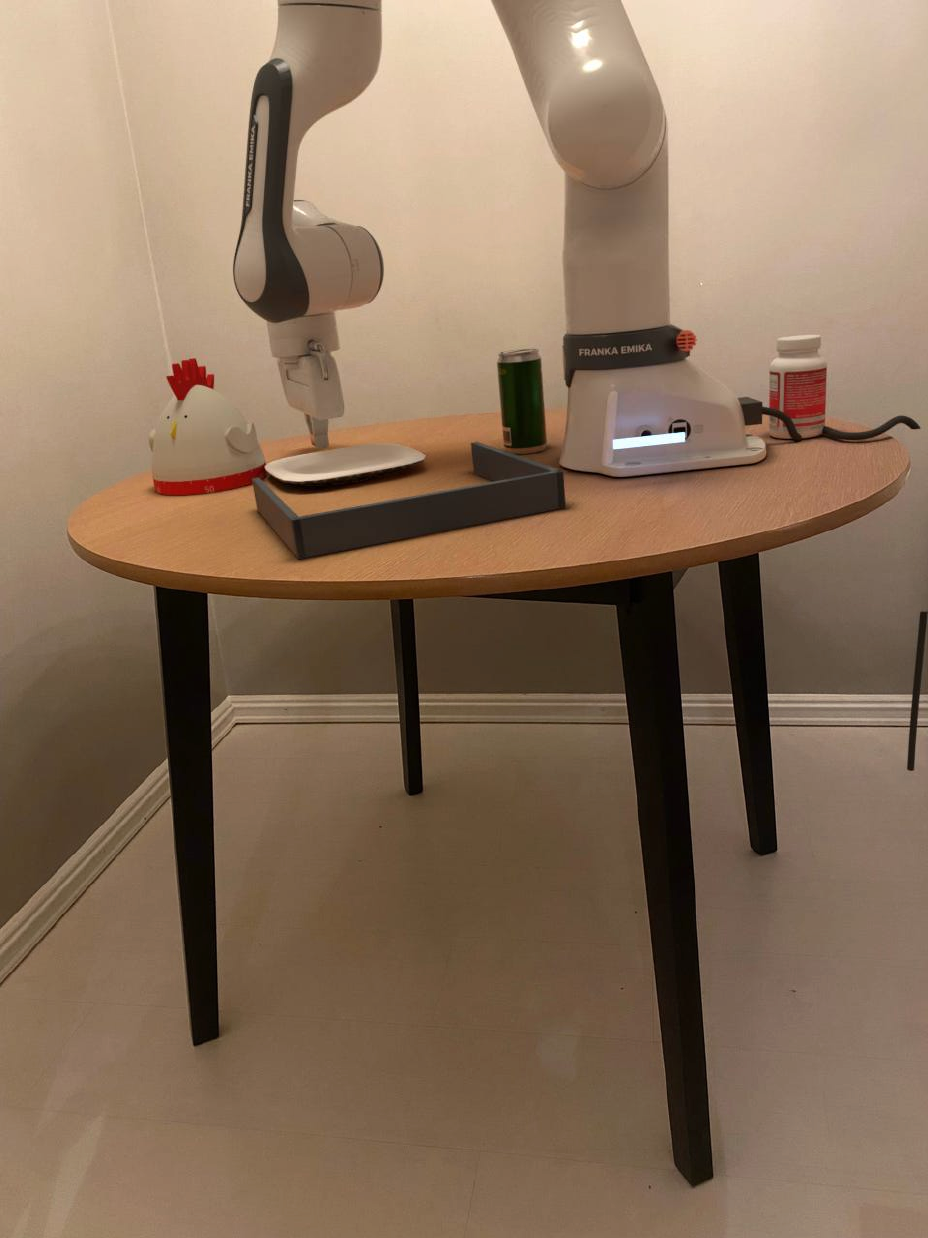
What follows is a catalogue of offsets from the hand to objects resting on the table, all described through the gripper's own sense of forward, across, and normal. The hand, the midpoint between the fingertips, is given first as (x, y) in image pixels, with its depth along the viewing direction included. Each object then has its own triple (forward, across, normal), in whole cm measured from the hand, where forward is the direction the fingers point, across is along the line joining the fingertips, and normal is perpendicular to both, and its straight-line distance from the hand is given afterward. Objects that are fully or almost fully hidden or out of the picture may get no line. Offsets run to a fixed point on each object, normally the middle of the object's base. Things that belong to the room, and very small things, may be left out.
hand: (320, 446), depth 126 cm
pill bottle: (+2, -36, -49) cm, 60 cm away
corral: (+2, -36, 0) cm, 36 cm away
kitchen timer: (+2, -4, +15) cm, 16 cm away
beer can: (+2, -18, -22) cm, 28 cm away
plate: (+2, -13, 0) cm, 13 cm away
